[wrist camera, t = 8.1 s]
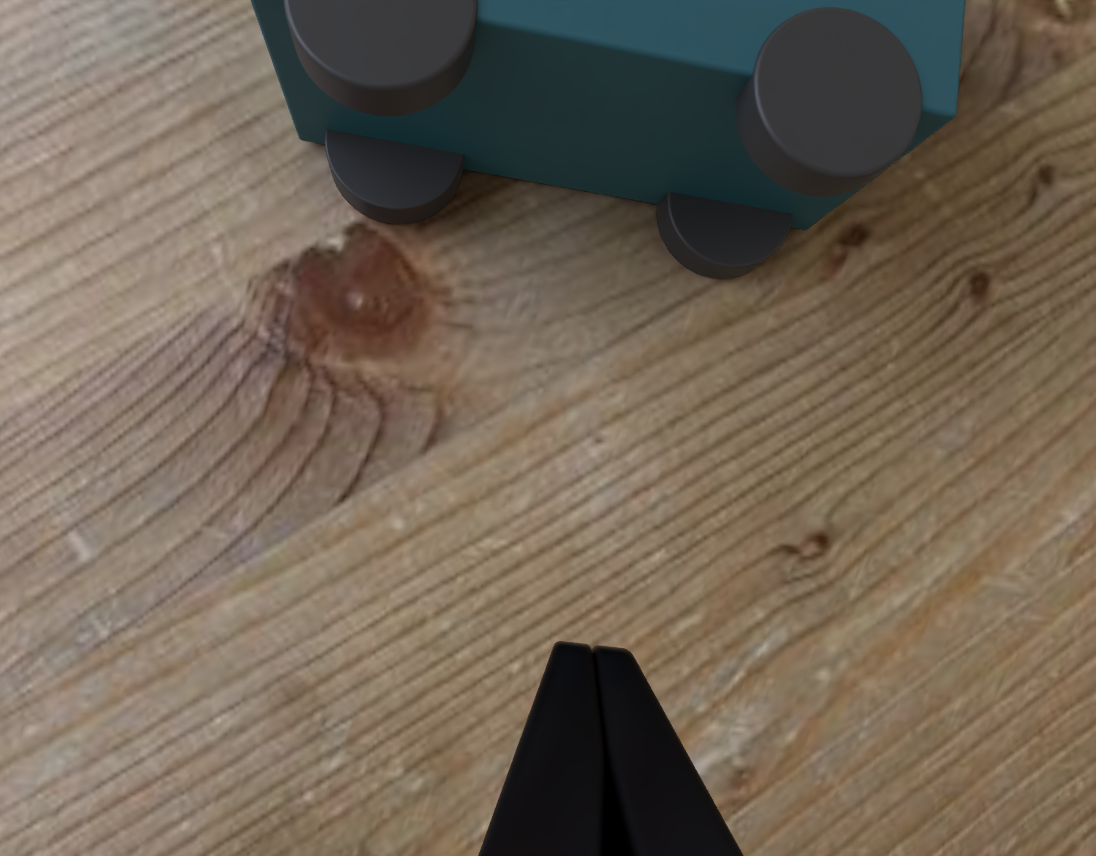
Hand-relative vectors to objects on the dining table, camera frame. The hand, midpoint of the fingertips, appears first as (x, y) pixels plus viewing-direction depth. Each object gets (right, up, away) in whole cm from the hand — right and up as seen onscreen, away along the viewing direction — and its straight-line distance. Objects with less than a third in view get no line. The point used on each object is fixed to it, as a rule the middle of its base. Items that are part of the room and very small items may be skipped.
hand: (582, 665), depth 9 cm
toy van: (0, +7, +7) cm, 10 cm away
